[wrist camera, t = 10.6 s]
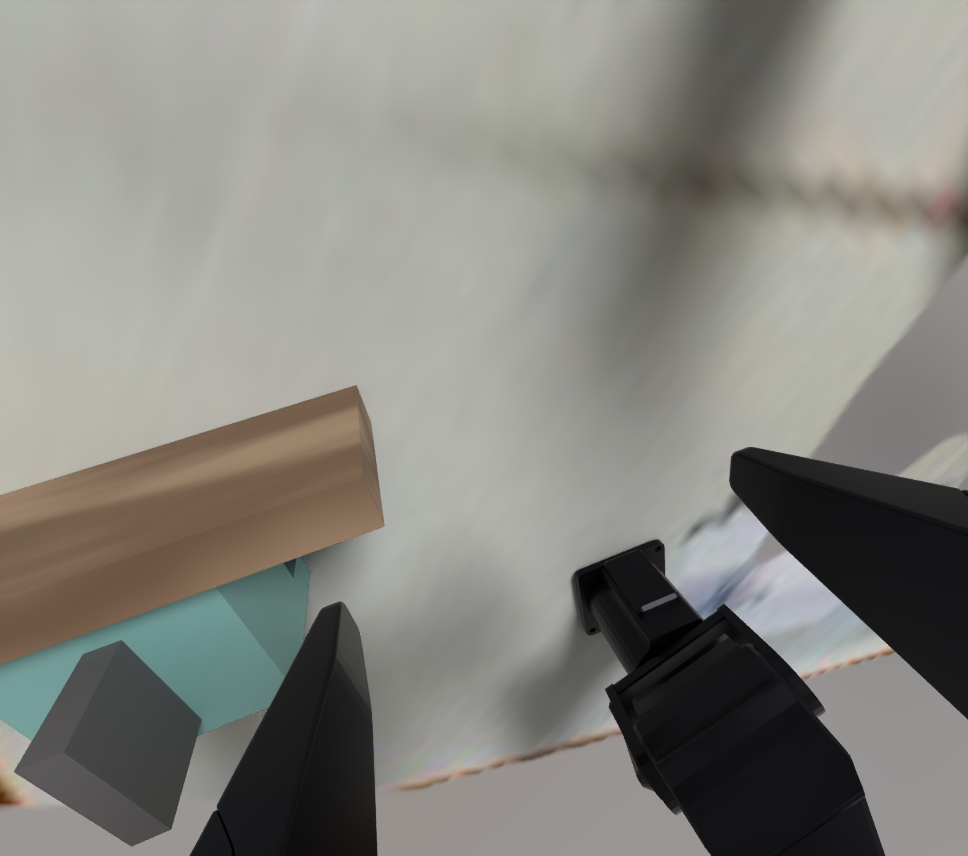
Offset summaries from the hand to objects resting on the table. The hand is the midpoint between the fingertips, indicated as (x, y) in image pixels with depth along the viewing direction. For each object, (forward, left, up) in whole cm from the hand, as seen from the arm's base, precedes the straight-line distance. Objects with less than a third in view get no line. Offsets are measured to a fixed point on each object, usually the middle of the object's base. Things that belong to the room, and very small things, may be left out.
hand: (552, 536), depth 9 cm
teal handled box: (-6, +14, -13) cm, 20 cm away
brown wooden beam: (-3, +14, -13) cm, 19 cm away
